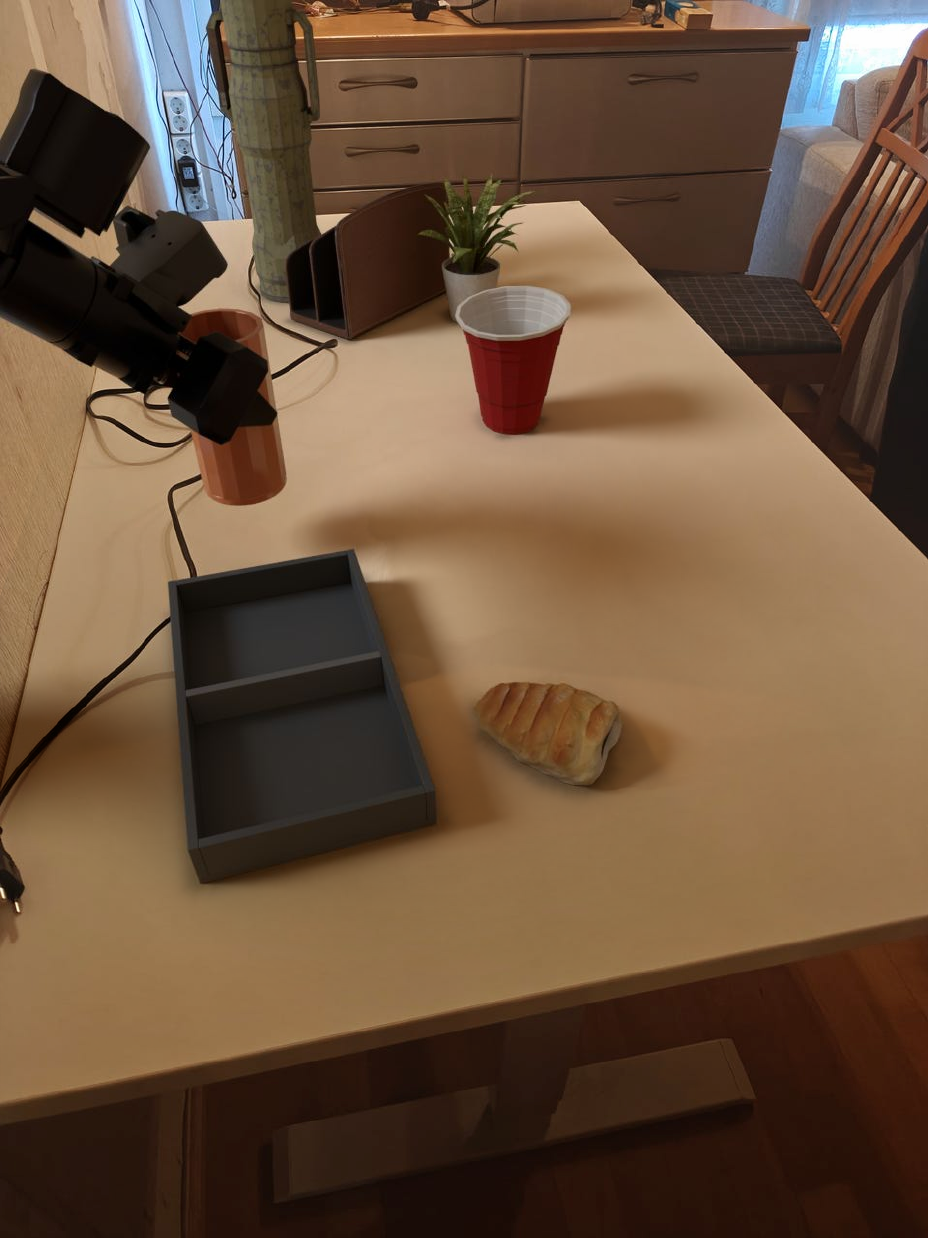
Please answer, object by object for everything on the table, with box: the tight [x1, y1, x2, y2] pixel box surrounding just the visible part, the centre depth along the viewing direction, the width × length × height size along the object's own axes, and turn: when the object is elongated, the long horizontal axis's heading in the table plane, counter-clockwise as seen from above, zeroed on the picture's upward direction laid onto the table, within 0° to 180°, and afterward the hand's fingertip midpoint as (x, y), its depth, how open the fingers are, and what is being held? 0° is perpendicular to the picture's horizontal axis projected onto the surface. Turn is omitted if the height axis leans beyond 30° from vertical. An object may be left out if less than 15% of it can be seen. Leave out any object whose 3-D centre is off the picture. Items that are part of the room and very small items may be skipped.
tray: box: [167, 548, 438, 884], centre depth 58 cm, size 14×24×3 cm, turn 17°
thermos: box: [205, 0, 322, 304], centre depth 103 cm, size 9×12×35 cm
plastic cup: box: [455, 285, 572, 435], centre depth 85 cm, size 11×11×12 cm
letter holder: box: [285, 181, 451, 341], centre depth 106 cm, size 10×20×14 cm, turn 143°
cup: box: [176, 308, 288, 507], centre depth 66 cm, size 6×6×13 cm
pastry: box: [474, 681, 623, 786], centre depth 56 cm, size 9×7×4 cm
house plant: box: [419, 171, 539, 323], centre depth 102 cm, size 14×14×16 cm
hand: (247, 402), depth 66 cm, fingers closed on cup, 6 cm apart
